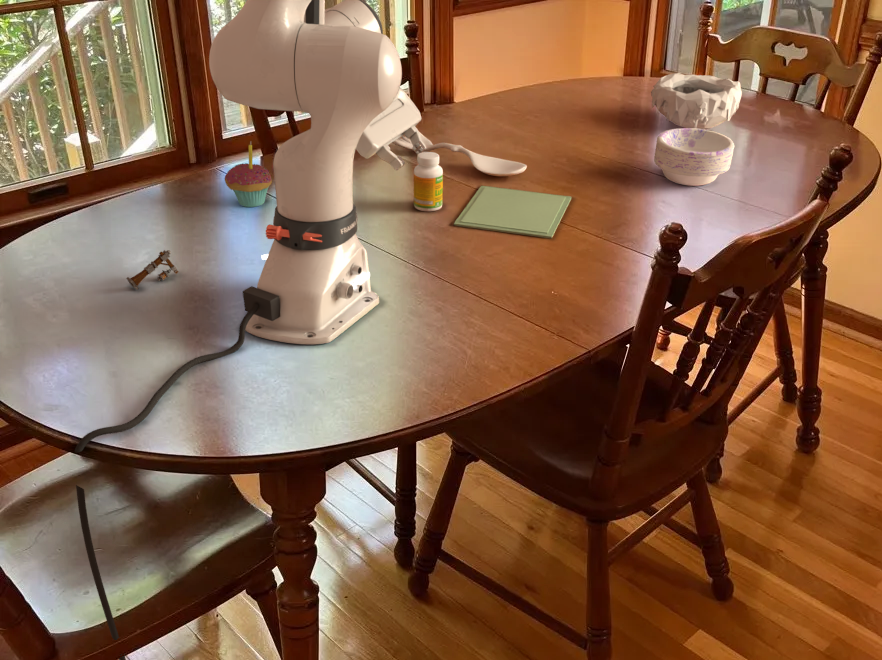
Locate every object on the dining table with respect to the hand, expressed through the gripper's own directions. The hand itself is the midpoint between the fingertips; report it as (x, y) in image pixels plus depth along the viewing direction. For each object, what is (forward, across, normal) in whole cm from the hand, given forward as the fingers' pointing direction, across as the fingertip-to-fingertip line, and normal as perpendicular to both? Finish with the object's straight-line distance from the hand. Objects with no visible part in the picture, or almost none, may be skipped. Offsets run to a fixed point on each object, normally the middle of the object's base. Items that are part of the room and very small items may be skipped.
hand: (412, 159), depth 169 cm
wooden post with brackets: (-10, -48, +22) cm, 54 cm away
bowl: (+34, +73, -21) cm, 83 cm away
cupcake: (-13, -13, +25) cm, 31 cm away
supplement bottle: (+8, 0, +4) cm, 9 cm away
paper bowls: (+38, +37, -26) cm, 59 cm away
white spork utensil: (+6, +25, +7) cm, 26 cm away
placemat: (+19, +5, -7) cm, 21 cm away
